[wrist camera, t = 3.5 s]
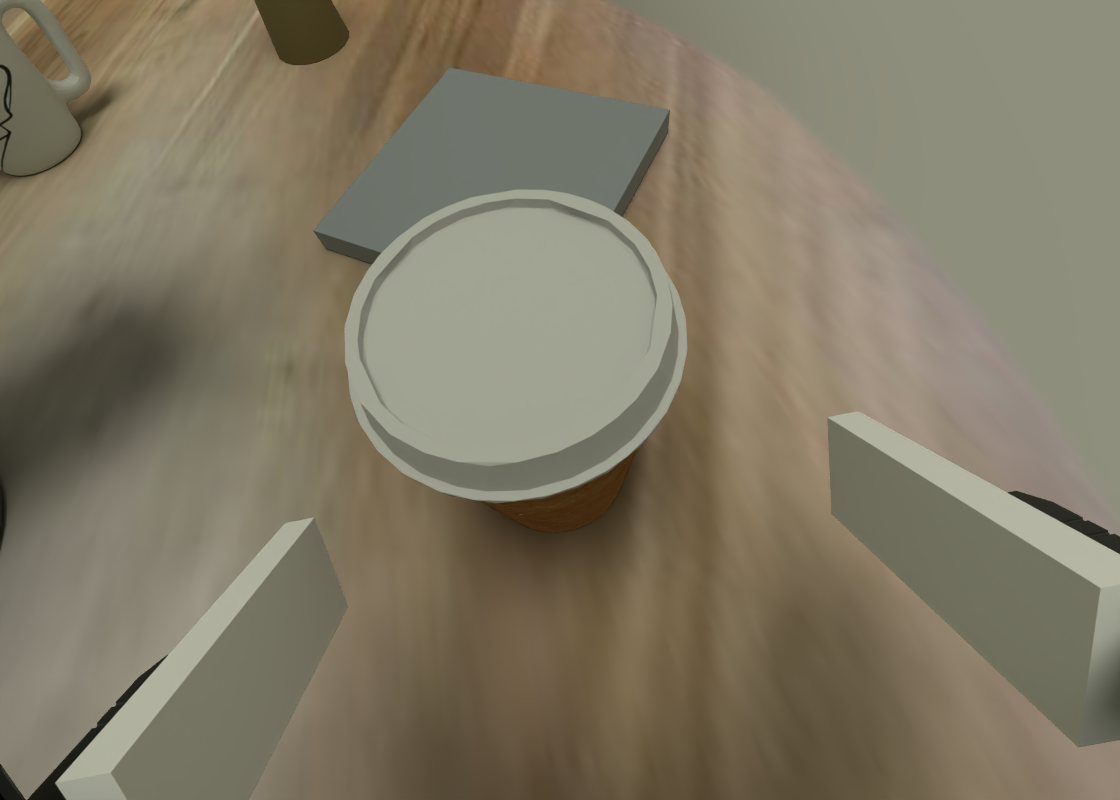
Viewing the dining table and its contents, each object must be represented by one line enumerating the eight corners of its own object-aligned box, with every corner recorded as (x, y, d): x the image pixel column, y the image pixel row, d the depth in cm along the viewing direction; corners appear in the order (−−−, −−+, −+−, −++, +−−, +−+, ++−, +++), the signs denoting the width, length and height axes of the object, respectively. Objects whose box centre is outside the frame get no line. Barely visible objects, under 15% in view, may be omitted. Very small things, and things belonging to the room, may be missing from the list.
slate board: (326, 248, 32) (313, 230, 31) (456, 88, 38) (449, 67, 37) (562, 326, 28) (559, 309, 26) (667, 131, 33) (669, 109, 32)
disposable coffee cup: (431, 551, 23) (265, 455, 12) (483, 365, 27) (392, 171, 16) (649, 590, 21) (676, 516, 11) (670, 385, 25) (704, 184, 15)
